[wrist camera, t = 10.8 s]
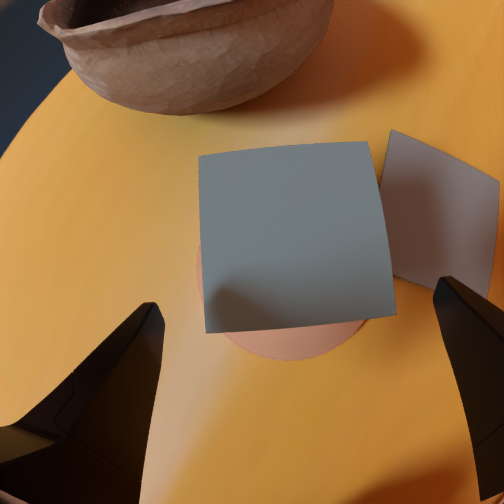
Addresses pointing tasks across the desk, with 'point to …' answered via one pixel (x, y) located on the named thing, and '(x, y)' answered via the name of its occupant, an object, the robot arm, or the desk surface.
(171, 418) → the desk surface
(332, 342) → the saucer
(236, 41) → the ceramic bowl
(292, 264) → the grey blue block
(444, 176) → the rubber mat
